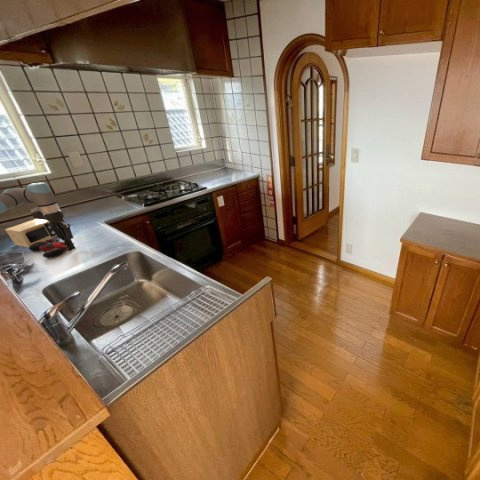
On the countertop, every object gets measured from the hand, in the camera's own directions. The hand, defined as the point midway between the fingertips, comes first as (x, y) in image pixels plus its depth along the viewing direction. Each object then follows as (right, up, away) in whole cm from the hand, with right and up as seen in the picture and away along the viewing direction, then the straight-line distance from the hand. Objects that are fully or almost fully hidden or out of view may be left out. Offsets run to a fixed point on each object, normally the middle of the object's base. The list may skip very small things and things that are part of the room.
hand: (72, 249), depth 152 cm
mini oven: (-35, +5, +14) cm, 38 cm away
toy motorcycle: (-14, 0, +4) cm, 14 cm away
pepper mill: (-55, +20, +42) cm, 72 cm away
